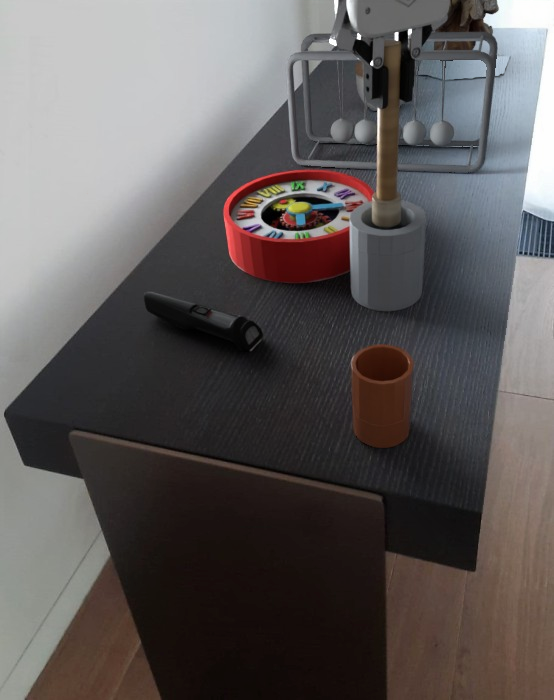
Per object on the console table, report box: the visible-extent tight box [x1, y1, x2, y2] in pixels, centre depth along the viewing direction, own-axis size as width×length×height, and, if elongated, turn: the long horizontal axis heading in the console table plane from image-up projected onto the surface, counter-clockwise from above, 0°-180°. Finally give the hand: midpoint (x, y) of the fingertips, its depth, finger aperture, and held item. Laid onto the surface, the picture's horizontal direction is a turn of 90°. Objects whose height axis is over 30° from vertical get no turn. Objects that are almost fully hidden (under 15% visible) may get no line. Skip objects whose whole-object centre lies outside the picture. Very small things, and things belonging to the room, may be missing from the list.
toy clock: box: [223, 169, 375, 284], centre depth 93 cm, size 20×6×20 cm
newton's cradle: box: [285, 31, 499, 174], centre depth 108 cm, size 30×10×18 cm, turn 74°
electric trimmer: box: [143, 291, 264, 352], centre depth 81 cm, size 4×16×3 cm, turn 58°
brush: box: [372, 40, 403, 227], centre depth 73 cm, size 3×3×19 cm
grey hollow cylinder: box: [349, 199, 427, 312], centre depth 81 cm, size 8×8×10 cm
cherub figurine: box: [433, 0, 500, 61], centre depth 140 cm, size 18×18×18 cm
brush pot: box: [350, 343, 415, 449], centre depth 64 cm, size 5×5×8 cm
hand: (388, 100), depth 70 cm, fingers closed on brush, 2 cm apart
